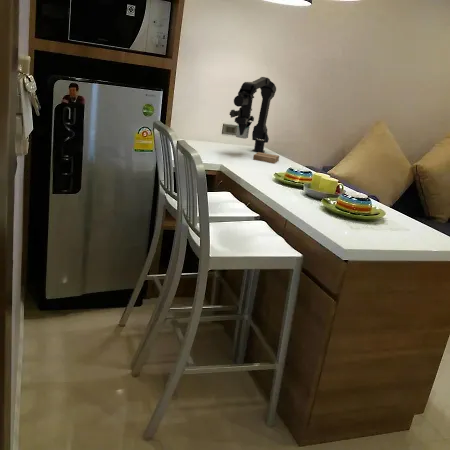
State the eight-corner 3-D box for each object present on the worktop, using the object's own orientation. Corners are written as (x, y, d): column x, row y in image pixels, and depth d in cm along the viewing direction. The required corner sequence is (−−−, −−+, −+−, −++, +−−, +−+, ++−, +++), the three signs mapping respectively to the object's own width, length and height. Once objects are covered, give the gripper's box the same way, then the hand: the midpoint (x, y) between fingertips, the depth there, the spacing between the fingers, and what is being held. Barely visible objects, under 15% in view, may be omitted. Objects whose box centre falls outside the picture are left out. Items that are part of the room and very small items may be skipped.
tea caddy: (238, 136, 292) (240, 125, 290) (248, 137, 290) (249, 127, 288) (235, 137, 286) (237, 126, 285) (245, 138, 285) (246, 127, 283)
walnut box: (257, 157, 295) (258, 152, 294) (278, 161, 292) (279, 155, 291) (252, 160, 284) (253, 154, 283) (274, 164, 281) (275, 158, 280)
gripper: (237, 103, 294) (233, 130, 298) (227, 104, 276) (223, 133, 281) (256, 106, 291) (251, 133, 296) (247, 108, 274) (243, 137, 278)
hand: (242, 134), depth 288 cm, fingers closed on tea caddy, 5 cm apart
